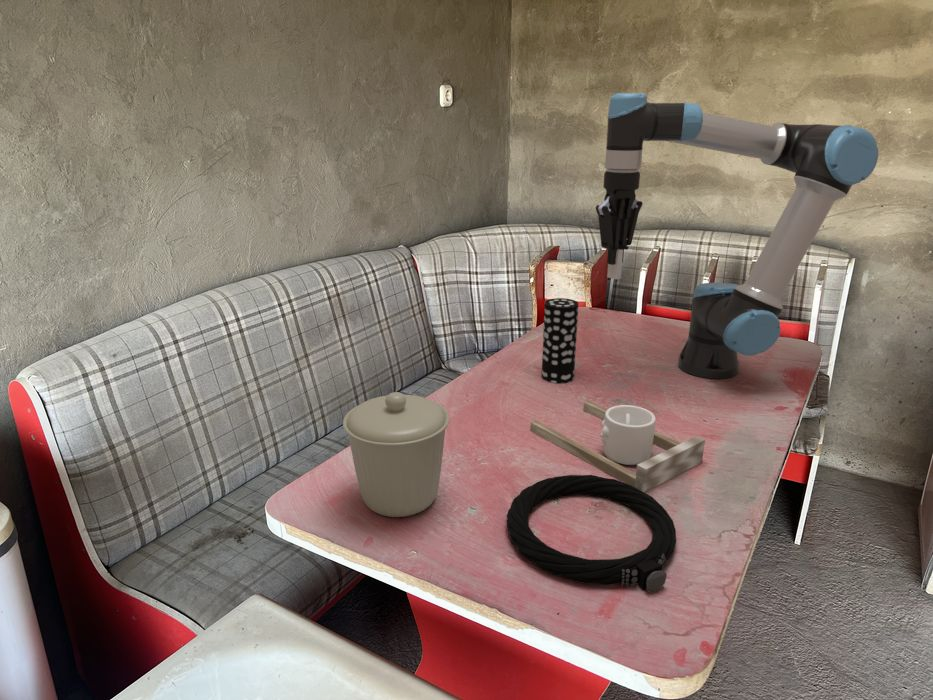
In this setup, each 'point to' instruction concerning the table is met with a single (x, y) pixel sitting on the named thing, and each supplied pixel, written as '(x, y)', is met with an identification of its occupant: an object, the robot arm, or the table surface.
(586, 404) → the guide channel
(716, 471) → the table surface
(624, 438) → the mug
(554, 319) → the spotted tube
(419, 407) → the canister
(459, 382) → the table surface
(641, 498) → the cable lock
